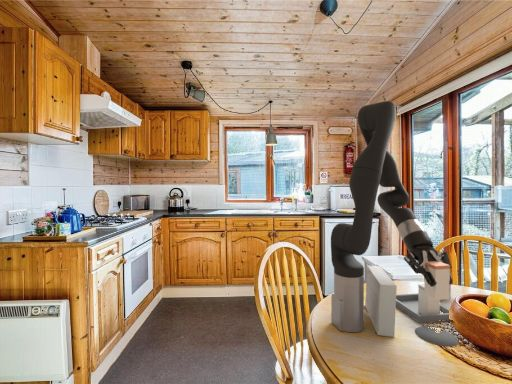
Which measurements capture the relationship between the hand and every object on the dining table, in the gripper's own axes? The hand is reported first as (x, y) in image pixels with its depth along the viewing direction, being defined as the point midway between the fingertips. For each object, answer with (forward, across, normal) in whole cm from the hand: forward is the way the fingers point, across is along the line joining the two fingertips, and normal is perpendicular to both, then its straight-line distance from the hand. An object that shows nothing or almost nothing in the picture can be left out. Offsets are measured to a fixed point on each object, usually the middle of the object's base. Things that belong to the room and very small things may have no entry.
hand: (441, 284), depth 82 cm
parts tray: (-1, +7, +25) cm, 26 cm away
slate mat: (+11, 0, +13) cm, 17 cm away
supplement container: (-8, +24, +33) cm, 42 cm away
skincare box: (+2, -11, +22) cm, 25 cm away
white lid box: (+2, +7, +22) cm, 23 cm away
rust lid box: (+2, 0, +4) cm, 5 cm away
